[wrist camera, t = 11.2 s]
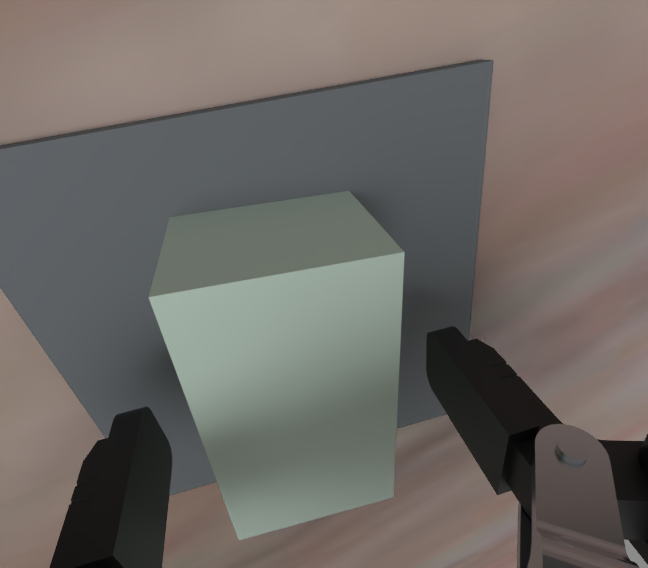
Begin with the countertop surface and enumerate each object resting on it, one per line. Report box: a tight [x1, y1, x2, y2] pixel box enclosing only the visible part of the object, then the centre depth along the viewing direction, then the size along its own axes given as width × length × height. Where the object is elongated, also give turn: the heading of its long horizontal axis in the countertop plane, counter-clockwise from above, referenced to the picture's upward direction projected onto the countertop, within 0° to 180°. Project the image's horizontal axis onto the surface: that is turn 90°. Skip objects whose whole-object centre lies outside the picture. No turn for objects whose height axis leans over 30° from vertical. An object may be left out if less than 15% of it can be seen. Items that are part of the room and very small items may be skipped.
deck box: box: [148, 191, 405, 540], centre depth 12 cm, size 5×9×4 cm, turn 4°
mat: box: [0, 60, 493, 496], centre depth 14 cm, size 14×14×1 cm
